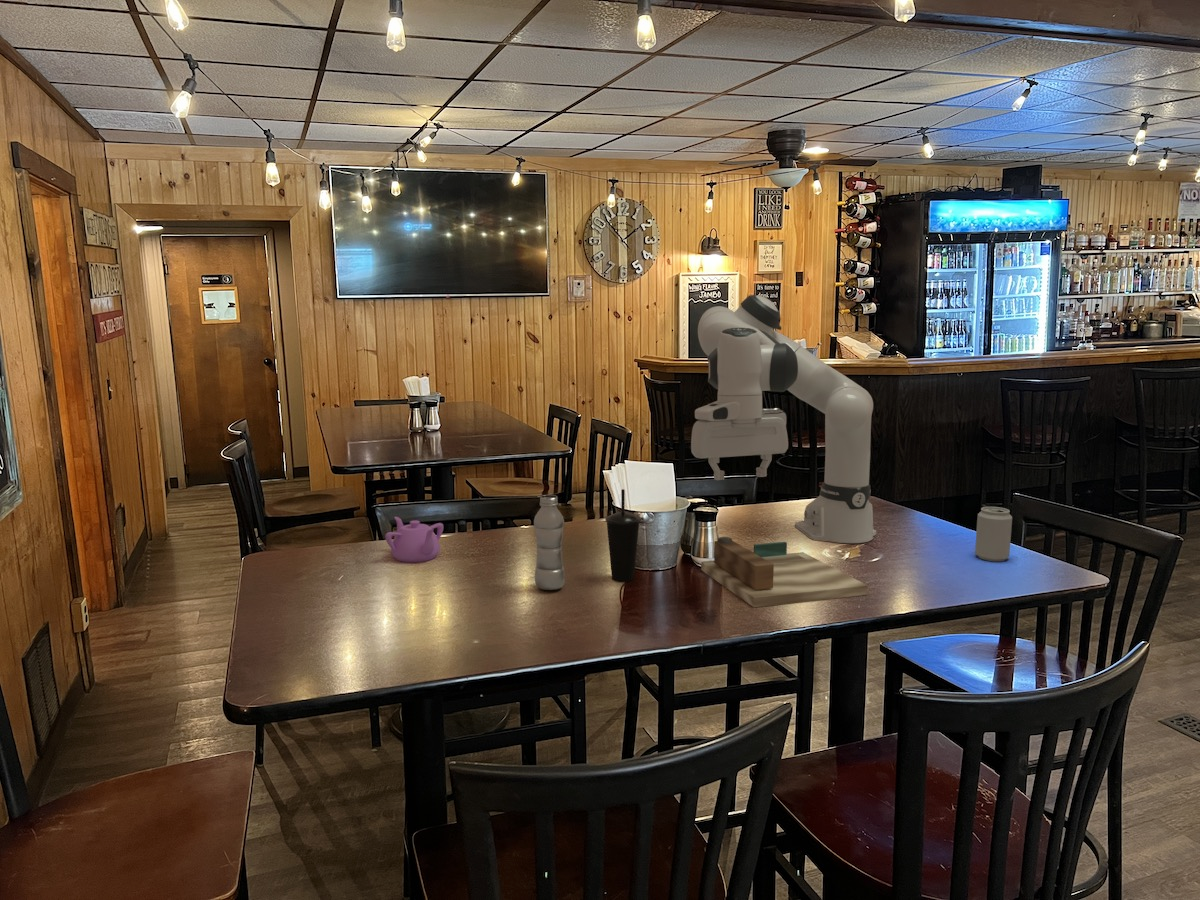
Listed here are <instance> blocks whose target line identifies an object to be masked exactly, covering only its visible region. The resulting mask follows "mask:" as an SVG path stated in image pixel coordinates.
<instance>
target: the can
mask: <svg viewBox="0 0 1200 900" xmlns="http://www.w3.org/2000/svg"><path fill="white" fill-rule="evenodd" d="M980 510H981V511H979V513H977V518H976V519H977V520H976V530H975V531H976V533H975V546H974V547H975V549H974V554H975V555H976V556H977V557H978V558H979V559H981V560H984V561H988V562H1004V561H1005V560H1007V559H1008V558H1010V550H1011V540H1012V539H1011V537H1012V525H1013V516H1012V515H1011V514H1010V512H1011V511H1010V509H1008V508H1005V507H998V506H982V507H981V508H980Z"/></svg>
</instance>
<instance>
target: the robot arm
mask: <svg viewBox="0 0 1200 900" xmlns="http://www.w3.org/2000/svg"><path fill="white" fill-rule="evenodd" d="M699 319H700V320H699V322H698V326H697V338H698V341H699V345H700V347H701V349H702V351H703V353H704V354H705V355H706V357H707V358H706V359H707V362H708V378H707V382H708V383H709V384H710V385H711V386H712V387H713V388H714V389H716V390H717V400H716V401H713V402H711V403H708V404H706V405H703V406H701V407H698V408H696V409H695V410H694V418H695V419H696V421H695V422H694V423H693V425H692V429H691V441H690V451H691V454H692V455H693V456H694V458H697V459H707V460H708V464H709V465H710V467H711V469H712V470H713V478H714V481H721V480H723V481H724V480H725V470H721V468H720V467H719V465H718V464H719V463H720V458H731V457H746V456H747V457H748V456H760V459H761V460H762V461H761V463H760V466H759V467H756V468H755V471H756V472H755V475H756V477H758V478H764V477H767V475H768V473H767V471H768V467H769V466H770V464H771V462H772V458H773V455H778V454H785V453H786V452H787V450H788V449H789V438H788V431H787V414H786V412H784V410H782V409H780V408H779V407H774V408H763V392H765V391H766V392H767V391H768V392H778V393H783V392H785V391H788V392H789V393H791V394H792V395H793V396H795V397H796V398H797V399H799V400H800V401H803V402H805V403H807V404H808V405H810V406H811V407H813V408H815V409H816V410H818V411H819V412H821V413H822V414H824V417H825V418H824V422H825V423H824V426H825V427H824V435H825V436H824V438H825V441H824V442H825V443H824V444H825V447H824V448H825V455H824V456H825V457H824V459H825V461H824V481H823V482H819V485H818V486H819V487H820V491H819V496H817V497H816V498H814V500H812V501H811V502H809V504H807V505H806V506H805V509H804V513H803V516H804V517H803V520H800V521H796V522H794V523H795V524H794V527H795V528H797V529H798V530H799V531H800V532H802V533H803V534H804V535H806V536H807V537H808V538H810V539H811V540H813V541H822V542H823V541H826V542H831V543H832V542H833V543H840V544H863V543H868V542H871V541H872V540H873V539H874V537H875V536H877V530H875V529H874V515H873V504H872V503H871V502H870V501H869V500H870V499H871V491H872V489H871V484H870V469H871V467H870V466H871V464H870V463H871V442H872V441H871V439H872V438H871V437H872V436H871V434H872V433H871V432H872V431H871V430H872V414H873V410H874V400H873V398H872V395H871V394H870V393H869V391H868V390H866V389H865V388H863V387H862V385H859V384H858V383H857V382H855V381H853V380H852V379H850V378H849V377H847V376H846V375H844V374H843V373H841V372H840V371H838V370H836V369H835V368H833V367H831V366H830V365H829V364H827V363H826V362H824V361H823V360H821V359H820V358H818V357H817V356H816V355H814V354H813V353H812V352H811V351H809V350H808V349H806V348H805V347H803V346H802V345H801V344H799V343H798V342H796V341H794V340H793V339H791V338H790V337H787V336H786V335H785V334H782V333H780V332H778V331H776V330H779V331H781V330H782V326H781V325H780V324H781V320H782V318H781V312H780V311H779V309H778V308H777V306H776V305H775V304H774V303H773V301H771V299H769V298H767V297H765V296H761V295H756V294H751V295H748V296H747V297H746V298H745V299H743V300H742V302H740V306H738V308H736V310H735V311H734V310H732V309H730V308H729V307H726V306H721V305H718V306H713V307H710V308H708V309H706V311H704V312H703V313H702V315H701V317H700V318H699ZM775 329H776V330H775Z"/></svg>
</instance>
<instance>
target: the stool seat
mask: <svg viewBox="0 0 1200 900" xmlns="http://www.w3.org/2000/svg"><path fill="white" fill-rule="evenodd" d="M787 551H788V543H787V542H786V541H775V542H766V543H754V544H753V553H755V554H756V555H758V556H760V557H762V558H763V559H765V560H767V561H769V562H770V563H772V564H774V574H773V588H770V589H760V590H755V589H753V588H752V587H750V586H749V585H747V584H746V583H744V582H743V581H741V580H740V579H738V578H736V577H735V576H733V575H732V574H730V573H729V572H727V571H726V570H724V569H723V568H721V567H720V566H718V565H717V564H715V563H714V560H708V561H707V560H706V561H705V560H704V561H701V565H700V566H701V569H700V571H702V572H703V573H705V574H706V575H707V576H709V577H710V578H711V579H713V580H714V581H716V582H717V583H719V584H720V585H722V586H723V587H724V588H726V589H727V590H728V591H731V592H732V593H733V594H734V595H736V596H737V597H738V598H740V599H741V600H743V601H744V602H745V603H747V604H749V605H750V606H751V607H753V608H760V607H769V606H780V605H788V604H796V603H797V604H798V603H805V602H815V601H824V600H832V599H841V598H842V599H843V598H852V597H859V596H860V597H861V596H868V587H869V586H868V585H867V584H865V583H864V582H862V581H860V580H858V579H856V578H854V577H852V576H850V575H848V574H847V573H844V572H842V571H841V570H839V569H837V568H834V567H833V566H831V565H829V564H828V563H825V562H823V561H821V560H819V559H817V558H815V557H813V556H812V555H810V554H807V553H805V552H804V551H802V552H800V551H799V552H792V553H787Z"/></svg>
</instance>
